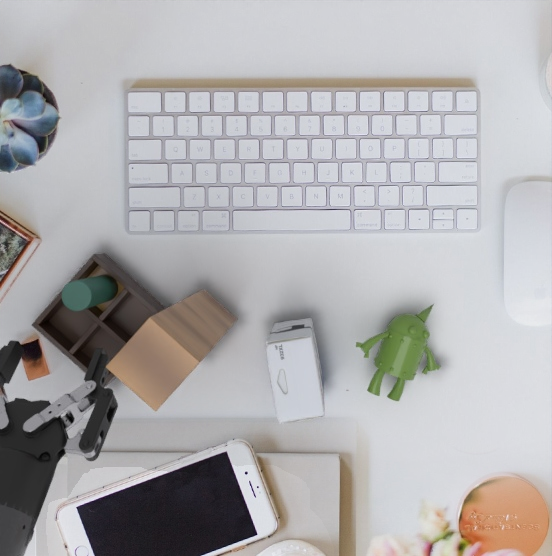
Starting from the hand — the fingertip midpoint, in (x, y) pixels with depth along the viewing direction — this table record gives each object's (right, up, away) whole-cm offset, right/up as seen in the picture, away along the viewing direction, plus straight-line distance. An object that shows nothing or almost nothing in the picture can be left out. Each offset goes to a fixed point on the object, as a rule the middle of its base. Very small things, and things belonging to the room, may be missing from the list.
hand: (59, 348), depth 57 cm
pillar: (+12, +1, +11) cm, 17 cm away
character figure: (+36, -1, +11) cm, 37 cm away
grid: (+1, +2, +11) cm, 12 cm away
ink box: (+24, -3, +11) cm, 26 cm away
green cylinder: (+1, +5, +10) cm, 12 cm away
